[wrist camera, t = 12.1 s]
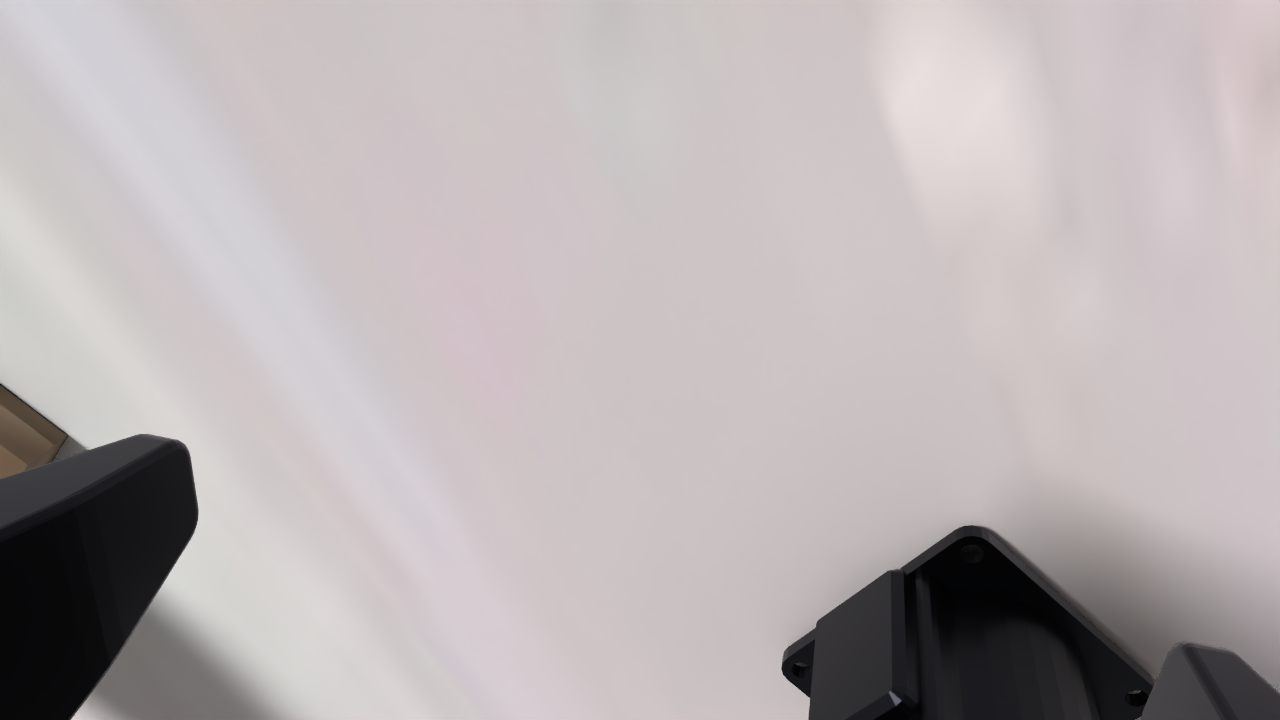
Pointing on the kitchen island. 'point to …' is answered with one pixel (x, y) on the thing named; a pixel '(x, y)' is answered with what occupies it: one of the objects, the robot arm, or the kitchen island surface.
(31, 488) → the robot arm
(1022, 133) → the kitchen island surface
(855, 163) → the kitchen island surface
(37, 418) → the square brown tray
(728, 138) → the kitchen island surface
